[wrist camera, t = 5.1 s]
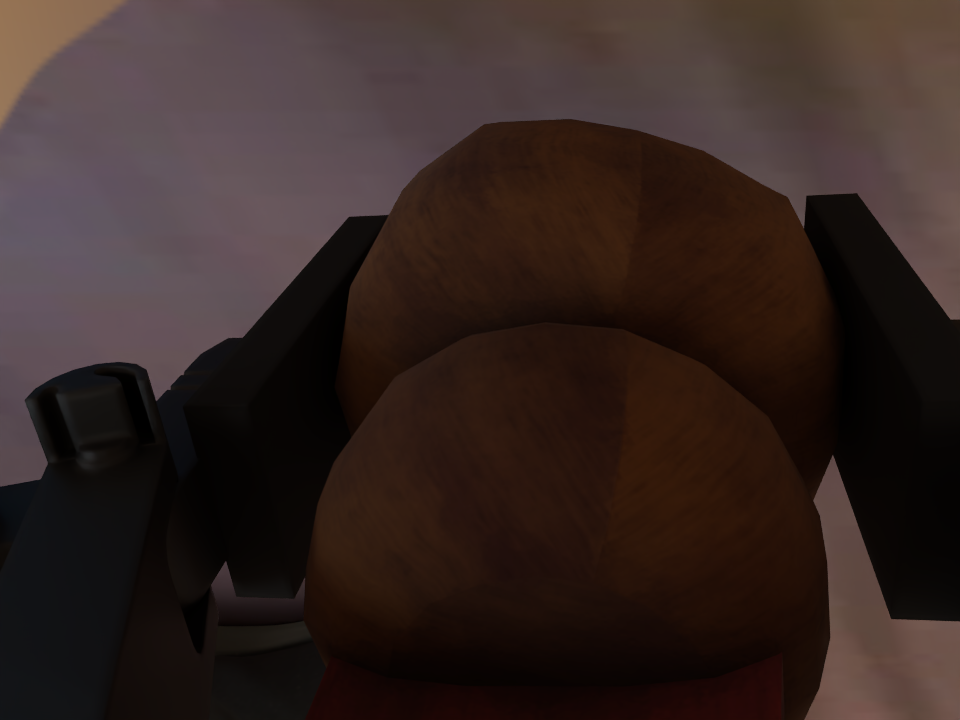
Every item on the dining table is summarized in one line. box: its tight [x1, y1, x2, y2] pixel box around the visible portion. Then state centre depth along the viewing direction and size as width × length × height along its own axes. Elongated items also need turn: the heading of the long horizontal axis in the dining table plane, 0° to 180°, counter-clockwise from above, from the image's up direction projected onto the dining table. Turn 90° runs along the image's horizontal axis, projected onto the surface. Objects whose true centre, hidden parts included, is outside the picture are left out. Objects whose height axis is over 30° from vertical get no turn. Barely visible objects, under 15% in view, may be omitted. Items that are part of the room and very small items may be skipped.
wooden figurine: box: [304, 119, 845, 720], centre depth 10 cm, size 7×6×15 cm
